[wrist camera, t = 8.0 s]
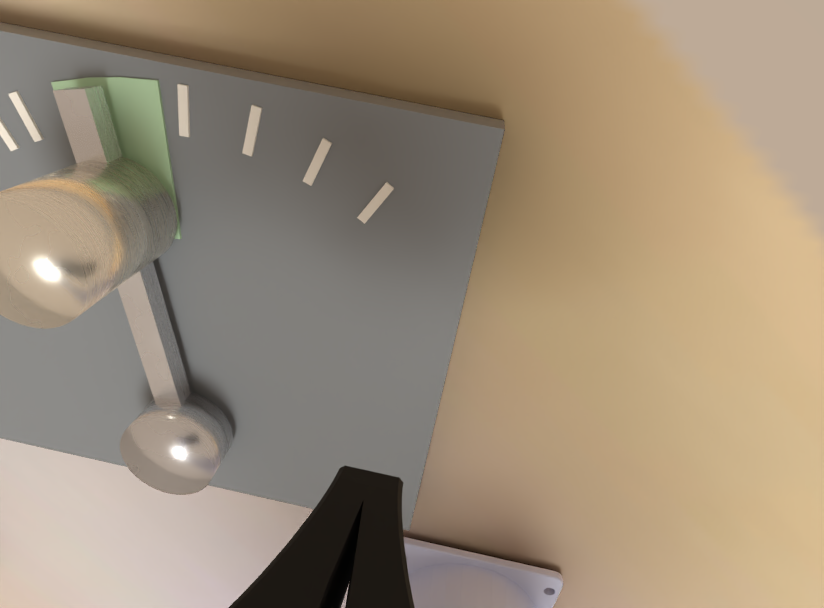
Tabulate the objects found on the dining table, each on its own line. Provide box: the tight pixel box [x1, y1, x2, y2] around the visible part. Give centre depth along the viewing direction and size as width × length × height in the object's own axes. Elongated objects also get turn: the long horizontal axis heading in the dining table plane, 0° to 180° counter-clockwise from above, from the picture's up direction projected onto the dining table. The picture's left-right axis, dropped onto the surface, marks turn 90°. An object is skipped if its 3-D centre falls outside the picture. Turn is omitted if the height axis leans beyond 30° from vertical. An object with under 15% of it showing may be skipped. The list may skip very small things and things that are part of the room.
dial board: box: [0, 22, 505, 530], centre depth 21 cm, size 17×19×2 cm
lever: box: [0, 86, 233, 495], centre depth 18 cm, size 15×4×5 cm, turn 3°
